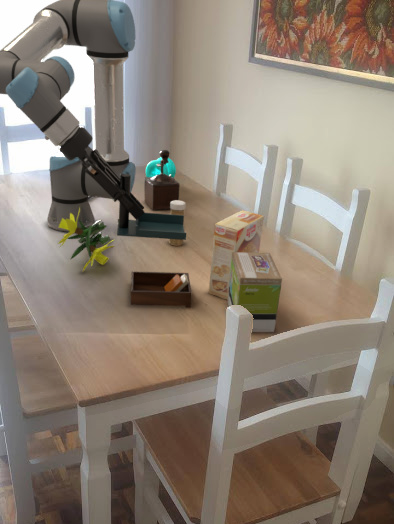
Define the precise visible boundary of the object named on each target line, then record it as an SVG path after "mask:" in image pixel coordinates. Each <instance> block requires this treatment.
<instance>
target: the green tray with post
mask: <svg viewBox="0 0 394 524" xmlns="http://www.w3.org/2000/svg"><path fill="white" fill-rule="evenodd" d="M130 184H131V175H130V174H121V175H120V187H121V188H122V189H123V190H124V191H125V192H127V193H128V194H129V195H130ZM118 203H119V206H118V208H119V209H118V218H117V228H116V236H120V237H132V238H133V237H134V238H147V239H149V238H150V239H161V240H163V239H164V240H170V239H177V240H183V241H187V236H188V235H187V233H188V232H186V231H185V226H183V221H184V222H185V214H184V215H173V214H171V213H160V212H159V213H157V212H145V213H144V214H143V215H141V216H140V217H139V218H138V219H137V220H136V219H130V213H129V212H128V211H127V209H126V208H125V207H124V206H123V205H122V204H121V203H120V202H118Z"/></svg>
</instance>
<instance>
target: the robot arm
mask: <svg viewBox="0 0 394 524" xmlns="http://www.w3.org/2000/svg"><path fill="white" fill-rule="evenodd" d="M32 20H33V21H32V23H31V24H30V25H28V26H27V27H26V28H25V29H24V30H23V31H21V32H20V33H19V34H18V35H17V36H16V37H14V38H13V39H12V40H10V42H8V43H7V44H6V45H5V46H3V47H2V48H1V49H0V95H7V96H8V98H10V100H11V101H12V102H13V103H14V104H15V106H16V108H18V109H19V110H20V111H21V112H22V113H23V114H24V115H25V116H26V117H27V118H28V119H29V120H30V121H31V122H32V123H33V124H34V125H35V126H36V127H37V128H38V129H39V131H40V132H41V133H43V135H44V139H45V140H46V141H50V142H51V143H52V144H53V145H54V146H55V147H58V151H57V152H55V153H53V154H52V155H51V156H50V157H49V169H48V171H49V178H50V192H51V203H50V207H49V211H48V215H47V219H46V220H47V227H49V228H50V229H53V230H55V231H58V232H64V233H69V232H70V231H69V230H67V229H63V228H59V226H60V225H59V224H60V222H61V220H62V218H63V219H65V220H66V219H70V213H71V214H73V216H74V220H75V222H76V221H77V226H79V227H81V226H80V223H79V220H80V221H81V222H82V223H83V225H84V226H85V227H86V228H89V227H90V226H91V225H93V224H94V223H95V222H96V220H95V216H94V213H93V210H92V207H91V204H90V202H89V200H90V199H92V198H93V197H94V198H101V199H102V198H103V199H107V200H112V201H113V203H116V202H117V201H118V203H121V204H122V205H123V206H124V207H125V208H126V209H127V211H128V212H129V215H131V216H132V217H133V218H134V220H137V219H138V218H139V217H140V216H141V215H143V214H144V213H146V212H145V210H144V209H145V206H144V205H143V204H142V203H141V202H140V201H139V200H138V199H137V197H136V196H135V195H134V194H133V193H132V192H133V187H134V184H135V181H136V173H137V171H136V169H137V168H136V164H135V163H134V162H133V161H130V154H129V152H127V151H126V150H125V109H124V107H125V105H124V104H125V101H124V99H125V98H124V63H125V62H126V61H127V60H128V59H129V53H130V52H132V51H133V50H134V49H135V47H136V46H135V45H136V25H135V24H136V23H135V20H134V15H133V12H132V10H131V8H130V7H129V5H128V4H127V3H126V2H124V1H119V0H56V1H55V2H52V3H50V4H48V5H47V6H45V7H43V8H42V9H41V10H39V11H38V12H37V13H36V14H35V15H34V17H33V19H32ZM65 46H73V47H81V48H85V50H86V56H87V58H88V59H89V60H90V61H91V63H92V64H91V65H92V88H93V112H94V115H93V116H94V137H95V149H92V147H91V146H90V144H91V143H92V142H93V135H91V133H90V132H89V131H88V130H87V129H86V128H85V127H84V126H83V125H80V120H78V118H77V117H76V116H75V115H74V114H73V113H72V112H71V111H70V110H69V108H67V106H65V105H64V104H63V102H62V101H61V100H63V98H64V97H65V96H66V95H67V94H68V93H69V92H70V90H71V88H72V86H73V85H74V83H75V72H74V68H73V66H72V65H71V63H70V62H69V61H68V60H67V59H66V58H64V57H62V56H59V55H54V56H51V57H48V56H49V55H50V54H51V53H52V52H53V51H54V50H55V51H56V50H60V49H61V48H63V47H65ZM47 57H48V58H47ZM46 58H47V59H46ZM121 174H130V175H131V184H130V195H129V194H128V193H127V192H125V191H124V190H123V189H122V188H121V187H120V175H121ZM79 208H80V212H79ZM78 212H79V216H78ZM77 216H78V219H77Z"/></svg>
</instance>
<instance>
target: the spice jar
mask: <svg viewBox="0 0 394 524" xmlns="http://www.w3.org/2000/svg"><path fill="white" fill-rule="evenodd" d="M170 208H171V209H170V214H173V215H184V216H185V209H186V201H183V200H180V199H179V200H174V201H171V203H170ZM184 224H185V220H184V221H183V226H184ZM184 227H185V226H184ZM168 243H169V245H171V246H174V247H177V246H178V247H179V246H182V245H183V244H184V240H177V239H168Z"/></svg>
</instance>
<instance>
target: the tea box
mask: <svg viewBox="0 0 394 524" xmlns="http://www.w3.org/2000/svg"><path fill="white" fill-rule="evenodd" d="M282 282H283V278H282V276H281V274H280V271H279V270H278V267H277V265H276V263H275V261H274V258H273V256H272V254H271V252H259V253H241V252H232V259H231V270H230V281H229V292H228V300H227V306H228V308H229V306H231V305H241V306H243V307H244V308H246V309H247V310H248V311H249V312H250V313H251V314H252V315H253V318H254V319H253V329H252V332H251V333H274V332H275V329H276V324H277V315H278V311H279V310H278V309H279V303H280V297H281V296H280V295H281V290H282V284H283V283H282Z"/></svg>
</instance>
